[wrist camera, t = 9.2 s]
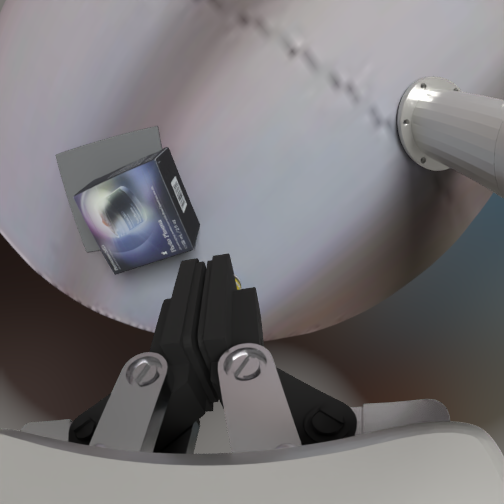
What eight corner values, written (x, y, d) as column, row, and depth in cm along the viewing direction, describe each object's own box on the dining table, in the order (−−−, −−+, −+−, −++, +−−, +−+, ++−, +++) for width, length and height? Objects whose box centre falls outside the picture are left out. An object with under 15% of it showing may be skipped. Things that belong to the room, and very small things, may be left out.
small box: (195, 253, 31) (113, 278, 32) (202, 225, 37) (129, 250, 38) (153, 158, 26) (69, 198, 27) (168, 145, 32) (93, 179, 33)
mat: (157, 125, 31) (157, 126, 30) (181, 236, 38) (181, 237, 37) (56, 154, 31) (55, 155, 30) (87, 251, 38) (86, 252, 38)
